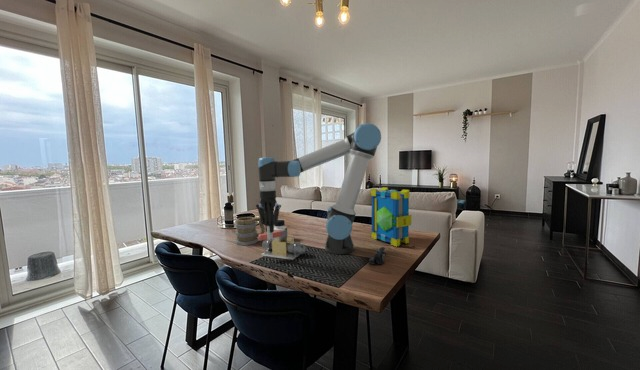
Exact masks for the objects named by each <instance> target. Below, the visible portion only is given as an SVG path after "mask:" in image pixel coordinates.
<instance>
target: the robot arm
mask: <svg viewBox="0 0 640 370" xmlns="http://www.w3.org/2000/svg"><path fill="white" fill-rule="evenodd" d="M381 141H382V133H381V130H380V129H379V127H378V126H377V125H376V124H373V123H369V122H368V123H362V124H360V125H358V126H357V128H356V129H355V131H354V132H352V133H350V134H348V135H345V137H344V139H342V140H338V141H337V142H335V143H332V144H330V145H328V146H324V147H322V148H320V149H317V150H314V151H313V152H310V153H307V154H304V155H302V156H299V157H297V158H295V159H293V160H283V161H282V160H281V161H275V158H274V157H272V156H271V157H270V156H269V157H259V158H258V161H257V163H258V182H259V183H258V184H259V190H260V191H259V199H260V200H259V203H258V204H256V205H255V207H256V209H257V211H258V215H259V217H260V219H261V223H262V224H263V225H264V227H265V232H266V233H267V240H266V241H268V240H270V239H272V238H273V232H274V228H275V226H274V225H275V224H277V221H278V219H279V214H280V210H281V207H282V204H278V203H277V199H276V198H277V191H276V184H277V183H276V178H296V177H297V178H298V177H300V175H301V174H302V173H304V172H306V171H308V170H311V169H314V168H317V167H319V166H322V165H324V164H327V163H328V162H331V161H334V160H336V159H338V158H339V159H340V158H342V157H344V156H347V155H348V154H350V157H349V161H348V165H347V168H346V171H345V174H344V177H343V179H342V183H341V186H340V191H339V192H338V196H337V199H336V203H335V204H333V205H331V206H328V207H327V211H326V213H327V221H326V224H325V228H326V229H325V231H326V232H327V237H326V241H325V246H324V249H325V252H326V253H329V254H334V255H346V254H350V253H353V252H354V250H355V246H354V242H353V239H352V236H351V234H352V231H353V223H354V220H355V218H356V211H355V207H356V203H357V201H358V197H359V193H360V190H361V187H362V184H363V181H364V178H365V175H366V171H367V168H368V165H369V163H370V160H371V159H373V158H374V157H375V154H376V151H377V149H378V146H379V145H380V143H381Z"/></svg>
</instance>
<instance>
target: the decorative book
mask: <svg viewBox="0 0 640 370" xmlns="http://www.w3.org/2000/svg"><path fill="white" fill-rule="evenodd" d="M370 196H371V235H370V236H371V239H372V238H374V239H378V240H380V241H383V242H386V243H389V244H390V246H391V245H394V246H396V247H397V246H398V247H399V246H400V245H401V243H403V244H406V245H408V244H407V243H409V242H410V237H409V226H412V214H409V209H410V208H409V207H410V206H409V202H410V200H409V198H410V189H401V191H398V190H397V189H389V187H384V186H383V187H381V188H380V189H377V188H370ZM374 239H373V240H374ZM409 244H410V243H409ZM396 247H395V248H396ZM398 247H397V248H398Z"/></svg>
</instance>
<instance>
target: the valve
mask: <svg viewBox="0 0 640 370" xmlns="http://www.w3.org/2000/svg"><path fill="white" fill-rule="evenodd" d="M261 248H262V249H263V250H265V251H263V252H261V253H260V254H261V256H262V257H270V258H278V259H285V260H292V261H294V260H295V259H296V258H298V257H299V256H300V255H304V254H305V253H306V248H307V247H306V245H305V244H302V243H301V242H299V241H296V242H295V239H294V237H287V239H286V240H279V238H277V239H275V240H272V239H270V240H262V243H261Z"/></svg>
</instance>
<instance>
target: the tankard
mask: <svg viewBox="0 0 640 370" xmlns="http://www.w3.org/2000/svg"><path fill="white" fill-rule="evenodd" d="M257 221H258V225H259V227H260V232H259V233H258V231H257V230H256V228H257ZM234 227H235V228H236V230H235V236H236V239H234V244H236V245H238V246H250V245H254V244H256V243H258V242H259V234H264V233H265V232H266V227H265V225H264V224H262V223H261V219H260V216H259V217H253V216H245V217H238V218H236V219H235V223H234Z"/></svg>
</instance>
